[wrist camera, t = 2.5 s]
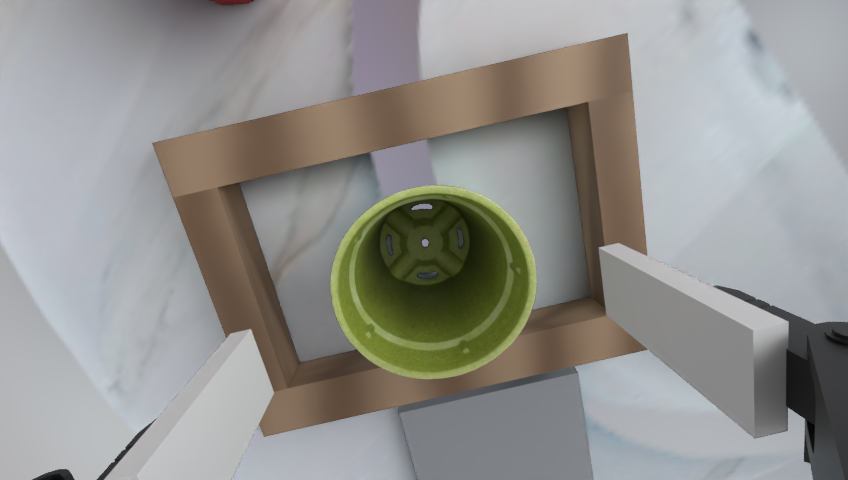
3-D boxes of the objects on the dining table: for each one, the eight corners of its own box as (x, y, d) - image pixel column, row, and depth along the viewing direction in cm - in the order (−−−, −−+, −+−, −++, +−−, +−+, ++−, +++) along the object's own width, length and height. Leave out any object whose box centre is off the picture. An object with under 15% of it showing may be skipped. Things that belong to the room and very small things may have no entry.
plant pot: (499, 298, 28) (541, 367, 19) (365, 316, 28) (348, 392, 19) (489, 162, 26) (531, 172, 17) (342, 180, 25) (312, 200, 17)
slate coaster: (572, 365, 29) (578, 372, 28) (592, 504, 32) (598, 515, 31) (399, 404, 29) (399, 413, 28) (436, 539, 33) (437, 551, 32)
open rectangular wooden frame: (600, 46, 24) (627, 33, 21) (629, 327, 29) (655, 347, 26) (182, 142, 24) (152, 143, 21) (278, 407, 29) (264, 436, 26)
